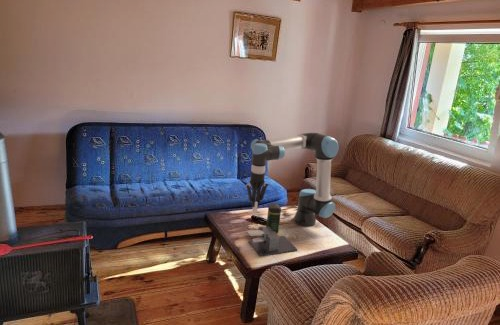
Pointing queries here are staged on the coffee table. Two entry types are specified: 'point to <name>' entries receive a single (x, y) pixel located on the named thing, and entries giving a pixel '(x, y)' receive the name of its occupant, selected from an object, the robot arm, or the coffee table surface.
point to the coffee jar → (273, 216)
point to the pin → (259, 239)
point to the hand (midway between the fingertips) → (254, 211)
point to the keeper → (256, 232)
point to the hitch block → (272, 243)
